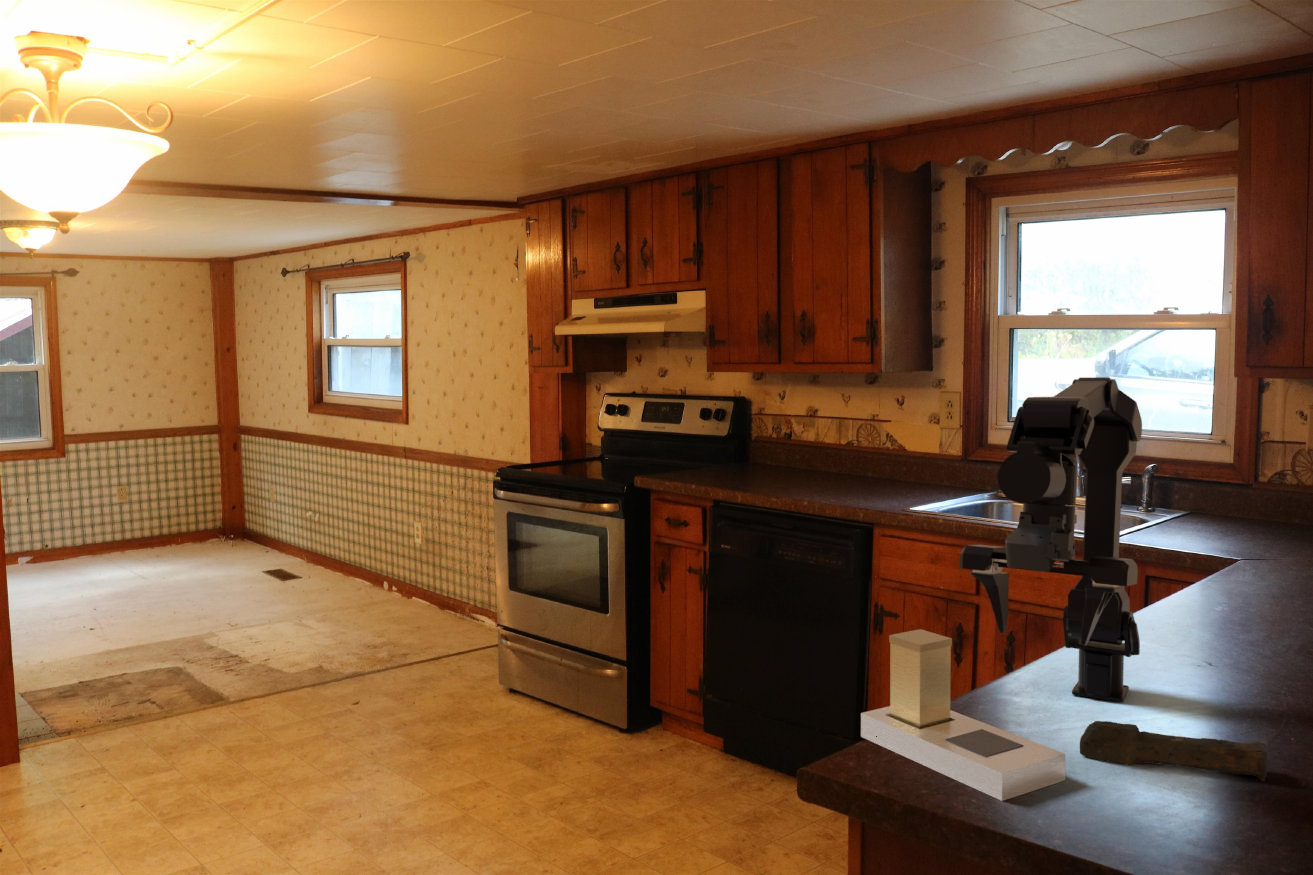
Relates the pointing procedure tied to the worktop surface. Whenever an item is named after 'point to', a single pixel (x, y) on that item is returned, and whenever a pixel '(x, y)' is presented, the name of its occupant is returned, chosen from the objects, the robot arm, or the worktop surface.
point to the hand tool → (1171, 750)
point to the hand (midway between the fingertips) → (1042, 638)
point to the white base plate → (970, 753)
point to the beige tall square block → (920, 678)
